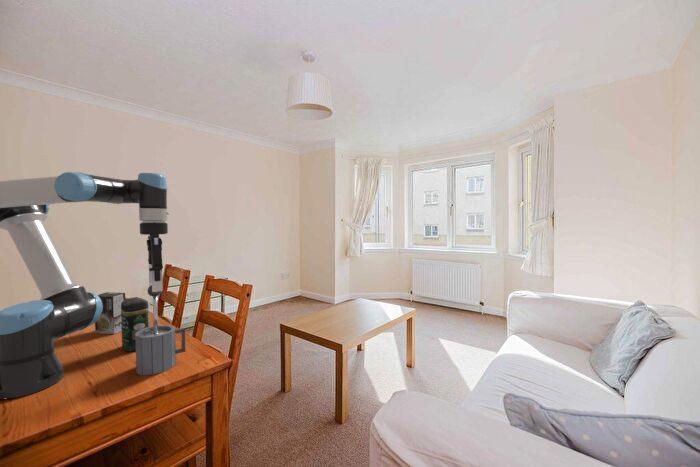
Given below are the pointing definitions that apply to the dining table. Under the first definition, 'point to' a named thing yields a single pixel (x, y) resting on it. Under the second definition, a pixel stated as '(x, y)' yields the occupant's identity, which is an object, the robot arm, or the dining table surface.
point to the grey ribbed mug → (157, 350)
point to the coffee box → (110, 313)
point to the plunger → (154, 315)
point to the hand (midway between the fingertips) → (155, 287)
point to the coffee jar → (133, 320)
